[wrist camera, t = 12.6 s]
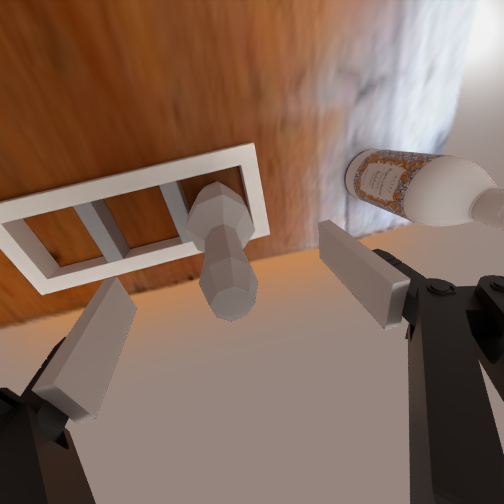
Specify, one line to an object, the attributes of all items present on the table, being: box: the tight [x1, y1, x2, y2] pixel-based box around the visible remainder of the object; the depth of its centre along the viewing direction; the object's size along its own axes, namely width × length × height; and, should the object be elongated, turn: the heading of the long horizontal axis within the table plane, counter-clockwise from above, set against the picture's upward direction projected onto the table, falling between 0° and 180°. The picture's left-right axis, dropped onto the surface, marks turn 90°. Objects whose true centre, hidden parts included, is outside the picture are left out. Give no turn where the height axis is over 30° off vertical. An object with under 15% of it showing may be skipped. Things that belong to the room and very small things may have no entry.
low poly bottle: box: [185, 181, 258, 322], centre depth 21 cm, size 6×6×22 cm
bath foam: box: [346, 149, 504, 230], centre depth 24 cm, size 7×7×20 cm
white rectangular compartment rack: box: [0, 142, 270, 295], centre depth 29 cm, size 32×12×3 cm, turn 102°
